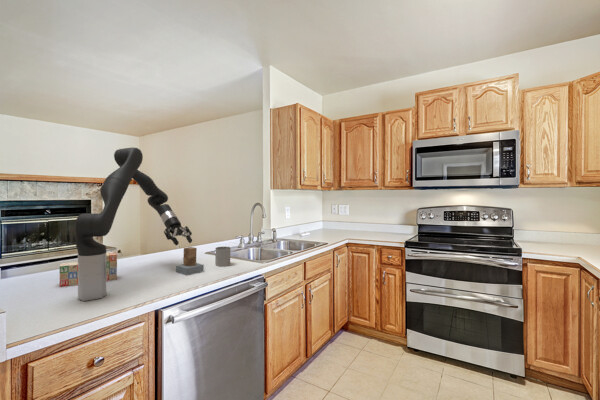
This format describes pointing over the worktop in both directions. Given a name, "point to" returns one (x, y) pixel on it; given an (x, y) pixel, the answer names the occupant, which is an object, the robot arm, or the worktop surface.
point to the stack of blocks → (71, 271)
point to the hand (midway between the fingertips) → (184, 243)
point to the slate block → (189, 269)
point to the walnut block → (189, 256)
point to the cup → (222, 256)
